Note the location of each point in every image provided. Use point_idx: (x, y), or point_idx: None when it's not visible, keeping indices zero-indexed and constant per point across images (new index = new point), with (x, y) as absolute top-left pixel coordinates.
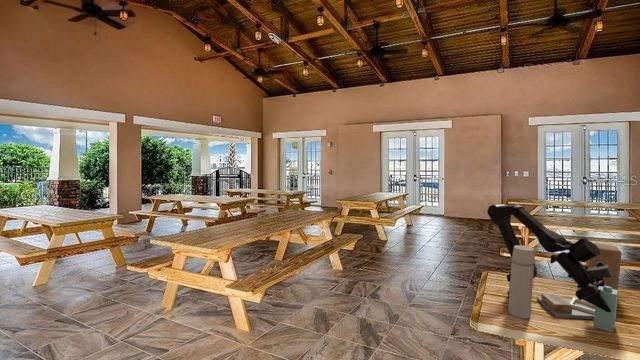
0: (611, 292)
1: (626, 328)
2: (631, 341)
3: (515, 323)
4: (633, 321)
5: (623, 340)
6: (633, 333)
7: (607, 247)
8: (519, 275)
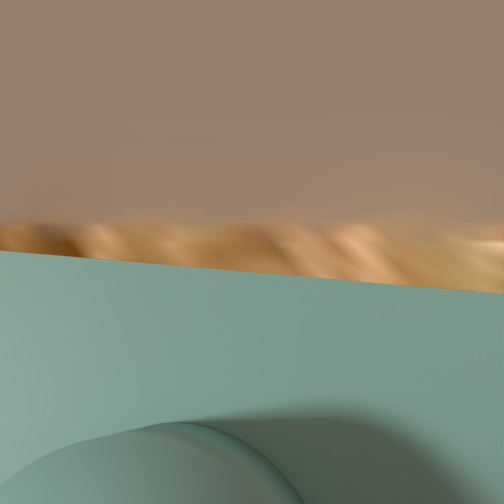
0: (395, 455)
1: None
2: (445, 241)
3: None
4: (29, 229)
5: (478, 291)
6: (267, 229)
7: None
8: None
